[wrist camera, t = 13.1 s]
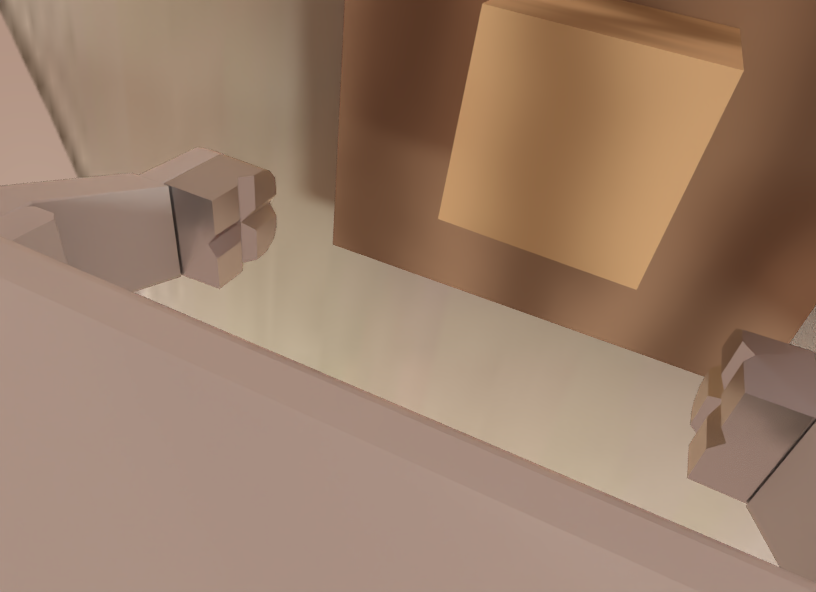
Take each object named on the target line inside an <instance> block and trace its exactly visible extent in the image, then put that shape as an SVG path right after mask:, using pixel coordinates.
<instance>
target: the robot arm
mask: <svg viewBox="0 0 816 592" xmlns="http://www.w3.org/2000/svg"><path fill="white" fill-rule="evenodd" d="M275 195H276V184H275V177H274V176H273V174H272V173H271V172H270V171H269V170H266V169H263V168H261V167H258V166H255V165H252V164H250V163H247V162H244V161H241V160H238V159H236V158H233V157H230V156H227V155H224V154H223V153H219V152H216V151H213V150H210V149H206V148H201V147H196V148H194V149H192V150H190V151H188V152H185V153H183V154H181V155H179V156H177V157H175V158H173V159H171V160H169V161H167V162H165V163H163V164H160V165H158V166H156V167H154V168H152V169H150V170H148V171H146V172H144V173H142V174H140V175H137V174H134V173H124V174H114V175H104V176H93V177H83V178H74V179H63V180H53V181H43V182H33V183H23V184H13V185H2V186H0V592H816V352H813V351H810V350H807V349H804V348H801V347H797V346H794V345H791V344H788V343H784V342H781V341H778V340H775V339H772V338H768V337H765V336H762V335H759V334H755V333H752V332H749V331H746V330H743V329H738V328H736V329H735V330H734V331H733V333H732V334H731V335H730V336H729V337H728V339H727V341H726V342H725V344H724V345H723V347H722V362H721V365H718V366H716V367H713V368H711V369H709V370H708V372H707V374H706V375H705V377H704V379H703V381H702V383H701V384H700V386H699V389H698V391H697V394H696V397H695V399H694V402H693V407H692V411H691V420H690V425H691V426H692V428H693V429H694V431H695V432H696V435H695V436H694V438H693V439H692V441H691V443H690V444H689V450H688V469H687V478H688V479H691V480H693V481H695V482H698V483H700V484H702V485H705V486H707V487H709V488H712V489H714V490H716V491H719V492H721V493H723V494H726V495H728V496H730V497H732V498H735V499H737V500H739V501H742V502H744V503H746V504H747V505H746V507H747V509H748V511H749V512H750V514H751V516H752V518H753V520H754V522H755V523H756V525H757V527H758V529H759V531H760V532H761V534H762V536H763V538H764V540H765V541H766V543H767V545H768V547H769V549H770V551H771V552H772V554H773V556H774V558H775V560H776V561H777V563H778V565H779V567H778V566H775V565H773V564H771V563H768V562H766V561H764V560H761V559H759V558H757V557H754V556H752V555H750V554H747V553H745V552H743V551H740V550H738V549H736V548H733V547H731V546H729V545H726V544H724V543H721V542H719V541H717V540H714V539H712V538H710V537H707V536H705V535H703V534H700V533H698V532H696V531H693V530H691V529H689V528H686V527H684V526H682V525H679V524H677V523H674V522H672V521H670V520H667V519H665V518H663V517H660V516H658V515H656V514H653V513H651V512H649V511H646V510H644V509H642V508H639V507H637V506H634V505H632V504H630V503H627V502H625V501H623V500H620V499H618V498H616V497H613V496H611V495H609V494H606V493H604V492H602V491H599V490H597V489H594V488H592V487H590V486H587V485H585V484H583V483H580V482H578V481H576V480H573V479H571V478H569V477H566V476H564V475H562V474H559V473H557V472H554V471H552V470H550V469H547V468H545V467H543V466H540V465H538V464H536V463H533V462H531V461H529V460H526V459H524V458H522V457H519V456H517V455H514V454H512V453H510V452H507V451H505V450H503V449H500V448H498V447H496V446H493V445H491V444H489V443H486V442H484V441H482V440H479V439H477V438H475V437H472V436H470V435H467V434H465V433H463V432H460V431H458V430H456V429H453V428H451V427H449V426H446V425H444V424H442V423H439V422H437V421H435V420H432V419H430V418H427V417H425V416H423V415H420V414H418V413H416V412H413V411H411V410H409V409H406V408H404V407H402V406H399V405H397V404H395V403H392V402H390V401H387V400H385V399H383V398H380V397H378V396H376V395H373V394H371V393H369V392H366V391H364V390H362V389H359V388H357V387H355V386H352V385H350V384H348V383H345V382H343V381H341V380H338V379H336V378H333V377H331V376H329V375H326V374H324V373H322V372H319V371H317V370H315V369H312V368H310V367H308V366H305V365H303V364H301V363H298V362H296V361H294V360H291V359H289V358H286V357H284V356H282V355H279V354H277V353H275V352H272V351H270V350H268V349H265V348H263V347H261V346H258V345H256V344H254V343H251V342H249V341H247V340H244V339H242V338H239V337H237V336H235V335H232V334H230V333H228V332H225V331H223V330H221V329H218V328H216V327H214V326H211V325H209V324H207V323H204V322H202V321H200V320H197V319H195V318H193V317H190V316H188V315H185V314H183V313H181V312H178V311H176V310H174V309H171V308H169V307H167V306H164V305H162V304H160V303H157V302H155V301H153V300H150V299H148V298H146V297H143V296H141V295H138V294H136V293H134V292H135V291H138V290H141V289H144V288H147V287H150V286H153V285H156V284H160V283H163V282H166V281H169V280H172V279H175V278H178V277H181V275H184V276H186V277H189V278H192V279H194V280H197V281H200V282H203V283H205V284H208V285H211V286H213V287H216V288H219V289H220V288H222V287H223V286H224V285H225V284H227V283H228V282H229V281H231V280H232V279H233V278H234V277H236V276H237V275H238V274H239V273H241V272H242V271H243V262H248V261H252V260H257V259H258V258H260V257H261V256H262V255H263V254H264V253H265V252H267V250H268V248H269V246H270V245H271V243H272V241H273V239H274V236H275V231H276V214H275V212H274V210H273V208H272V206H271V205H270V203H269V202H270V201H271V200H272V199H273V197H274V196H275Z"/></svg>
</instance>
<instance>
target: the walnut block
mask: <svg viewBox="0 0 816 592" xmlns="http://www.w3.org/2000/svg"><path fill="white" fill-rule="evenodd" d="M486 1H489V0H345V3H344V24H343V45H342V66H341V86H340V107H339V128H338V149H337V169H336V190H335V211H334V232H333V245H336V246H339V247H342V248H344V249H347V250H350V251H353V252H356V253H359V254H361V255H364V256H367V257H370V258H373V259H375V260H378V261H381V262H384V263H387V264H389V265H392V266H395V267H398V268H401V269H403V270H406V271H409V272H412V273H415V274H418V275H420V276H423V277H426V278H429V279H432V280H434V281H437V282H440V283H443V284H446V285H448V286H451V287H454V288H457V289H460V290H462V291H465V292H468V293H471V294H474V295H477V296H479V297H482V298H485V299H488V300H491V301H493V302H496V303H499V304H502V305H505V306H507V307H510V308H513V309H516V310H519V311H521V312H524V313H527V314H530V315H533V316H536V317H538V318H541V319H544V320H547V321H550V322H552V323H555V324H558V325H561V326H564V327H566V328H569V329H572V330H575V331H578V332H580V333H583V334H586V335H589V336H592V337H595V338H597V339H600V340H603V341H606V342H609V343H611V344H614V345H617V346H620V347H623V348H625V349H628V350H631V351H634V352H637V353H639V354H642V355H645V356H648V357H651V358H654V359H656V360H659V361H662V362H665V363H668V364H670V365H673V366H676V367H679V368H682V369H684V370H687V371H690V372H693V373H696V374H698V375H701V376H704V377H705V375H706V374H707V372H708V370H709V369H711V368H713V367H716V366H718V365H721V362H722V347H723V345H724V344H725V342H726V341H727V339H728V337H729V336H730V335H731V334H732V333H733V331H734V330H735V329H736V328H738V329H743V330H746V331H749V332H752V333H755V334H759V335H762V336H765V337H768V338H772V339H775V340H778V341H781V342H784V343H788V344H789V343H790V341H791V340H792V339H793V337H794V336H795V334H796V333H797V331H798V330H799V328H800V327H801V325H802V324H803V323H804V321H805V320H806V318H807V317H808V315H809V314H810V312H811V311H812V310H813V308H814V307H815V305H816V0H623V1H627V2H631V3H635V4H639V5H644V6H648V7H652V8H656V9H660V10H664V11H668V12H673V13H677V14H681V15H685V16H689V17H693V18H698V19H702V20H706V21H710V22H714V23H718V24H722V25H727V26H731V27H735V28H739V29H740V35H741V46H742V56H743V67H744V71H743V73H742V75H741V78H740V80H739V82H738V84H737V86H736V88H735V90H734V92H733V94H732V96H731V98H730V100H729V102H728V104H727V106H726V108H725V110H724V112H723V114H722V116H721V118H720V120H719V122H718V124H717V127H716V129H715V131H714V133H713V135H712V137H711V139H710V141H709V143H708V145H707V147H706V149H705V151H704V153H703V155H702V157H701V159H700V161H699V163H698V165H697V167H696V169H695V171H694V174H693V176H692V178H691V180H690V182H689V184H688V186H687V188H686V190H685V192H684V194H683V196H682V198H681V200H680V202H679V204H678V206H677V208H676V210H675V212H674V214H673V216H672V218H671V220H670V223H669V225H668V227H667V229H666V231H665V233H664V235H663V237H662V239H661V241H660V243H659V245H658V247H657V249H656V251H655V253H654V255H653V257H652V259H651V261H650V263H649V265H648V267H647V270H646V272H645V274H644V276H643V278H642V280H641V282H640V284H639V286H638V288H637V290H635V289H632V288H630V287H627V286H624V285H621V284H618V283H616V282H613V281H610V280H607V279H604V278H602V277H599V276H596V275H593V274H591V273H588V272H585V271H582V270H579V269H577V268H574V267H571V266H568V265H565V264H563V263H560V262H557V261H554V260H551V259H549V258H546V257H543V256H540V255H537V254H535V253H532V252H529V251H526V250H523V249H521V248H518V247H515V246H512V245H509V244H507V243H504V242H501V241H498V240H495V239H493V238H490V237H487V236H484V235H481V234H479V233H476V232H473V231H470V230H468V229H465V228H462V227H459V226H456V225H454V224H451V223H448V222H445V221H442V220H440V219H438V216H439V211H440V207H441V202H442V197H443V192H444V187H445V182H446V177H447V173H448V168H449V163H450V158H451V153H452V148H453V143H454V139H455V134H456V129H457V124H458V119H459V114H460V109H461V105H462V100H463V95H464V90H465V85H466V80H467V75H468V71H469V66H470V61H471V56H472V51H473V46H474V41H475V37H476V32H477V27H478V22H479V17H480V12H481V8H482V3H484V2H486Z"/></svg>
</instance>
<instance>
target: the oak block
mask: <svg viewBox="0 0 816 592" xmlns="http://www.w3.org/2000/svg"><path fill="white" fill-rule="evenodd" d="M743 71H744V67H743V56H742V46H741V35H740V29H739V28H735V27H731V26H727V25H722V24H718V23H714V22H710V21H706V20H702V19H698V18H693V17H689V16H685V15H681V14H677V13H673V12H668V11H664V10H660V9H656V8H652V7H648V6H644V5H639V4H635V3H631V2H627V1H623V0H489V1H486V2H484V3H482V8H481V12H480V17H479V22H478V27H477V32H476V37H475V41H474V46H473V51H472V56H471V61H470V66H469V71H468V75H467V80H466V85H465V90H464V95H463V100H462V105H461V109H460V114H459V119H458V124H457V129H456V134H455V139H454V143H453V148H452V153H451V158H450V163H449V168H448V173H447V177H446V182H445V187H444V192H443V197H442V202H441V207H440V211H439V216H438V219H440V220H442V221H445V222H448V223H451V224H454V225H456V226H459V227H462V228H465V229H468V230H470V231H473V232H476V233H479V234H481V235H484V236H487V237H490V238H493V239H495V240H498V241H501V242H504V243H507V244H509V245H512V246H515V247H518V248H521V249H523V250H526V251H529V252H532V253H535V254H537V255H540V256H543V257H546V258H549V259H551V260H554V261H557V262H560V263H563V264H565V265H568V266H571V267H574V268H577V269H579V270H582V271H585V272H588V273H591V274H593V275H596V276H599V277H602V278H604V279H607V280H610V281H613V282H616V283H618V284H621V285H624V286H627V287H630V288H632V289H635V290H637V288H638V286H639V284H640V282H641V280H642V278H643V276H644V274H645V272H646V270H647V267H648V265H649V263H650V261H651V259H652V257H653V255H654V253H655V251H656V249H657V247H658V245H659V243H660V241H661V239H662V237H663V235H664V233H665V231H666V229H667V227H668V225H669V223H670V220H671V218H672V216H673V214H674V212H675V210H676V208H677V206H678V204H679V202H680V200H681V198H682V196H683V194H684V192H685V190H686V188H687V186H688V184H689V182H690V180H691V178H692V176H693V174H694V171H695V169H696V167H697V165H698V163H699V161H700V159H701V157H702V155H703V153H704V151H705V149H706V147H707V145H708V143H709V141H710V139H711V137H712V135H713V133H714V131H715V129H716V127H717V124H718V122H719V120H720V118H721V116H722V114H723V112H724V110H725V108H726V106H727V104H728V102H729V100H730V98H731V96H732V94H733V92H734V90H735V88H736V86H737V84H738V82H739V80H740V78H741V75H742V73H743Z"/></svg>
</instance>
